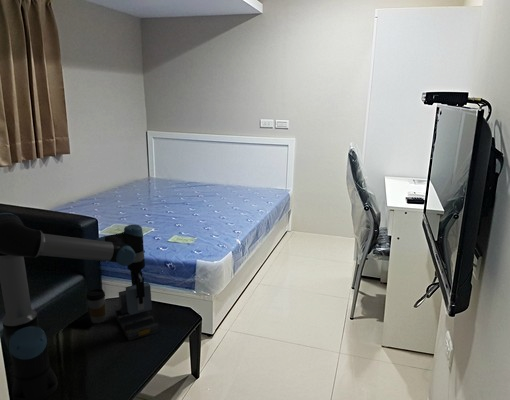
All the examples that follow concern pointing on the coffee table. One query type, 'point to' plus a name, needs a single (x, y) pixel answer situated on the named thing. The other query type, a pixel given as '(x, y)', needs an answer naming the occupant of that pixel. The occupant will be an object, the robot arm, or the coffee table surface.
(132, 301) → the gray rectangular block
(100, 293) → the coffee cup
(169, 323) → the coffee table surface
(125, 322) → the rack
